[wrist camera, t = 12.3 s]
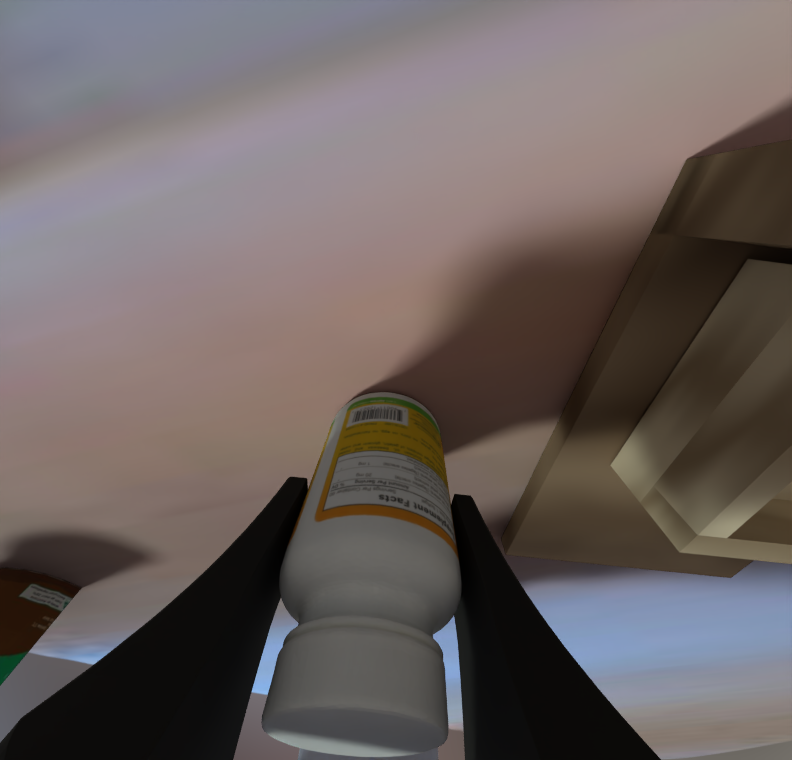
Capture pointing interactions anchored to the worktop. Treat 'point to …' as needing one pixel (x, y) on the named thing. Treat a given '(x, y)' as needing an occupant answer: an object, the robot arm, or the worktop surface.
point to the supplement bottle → (369, 589)
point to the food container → (27, 611)
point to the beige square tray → (724, 429)
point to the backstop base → (652, 363)
